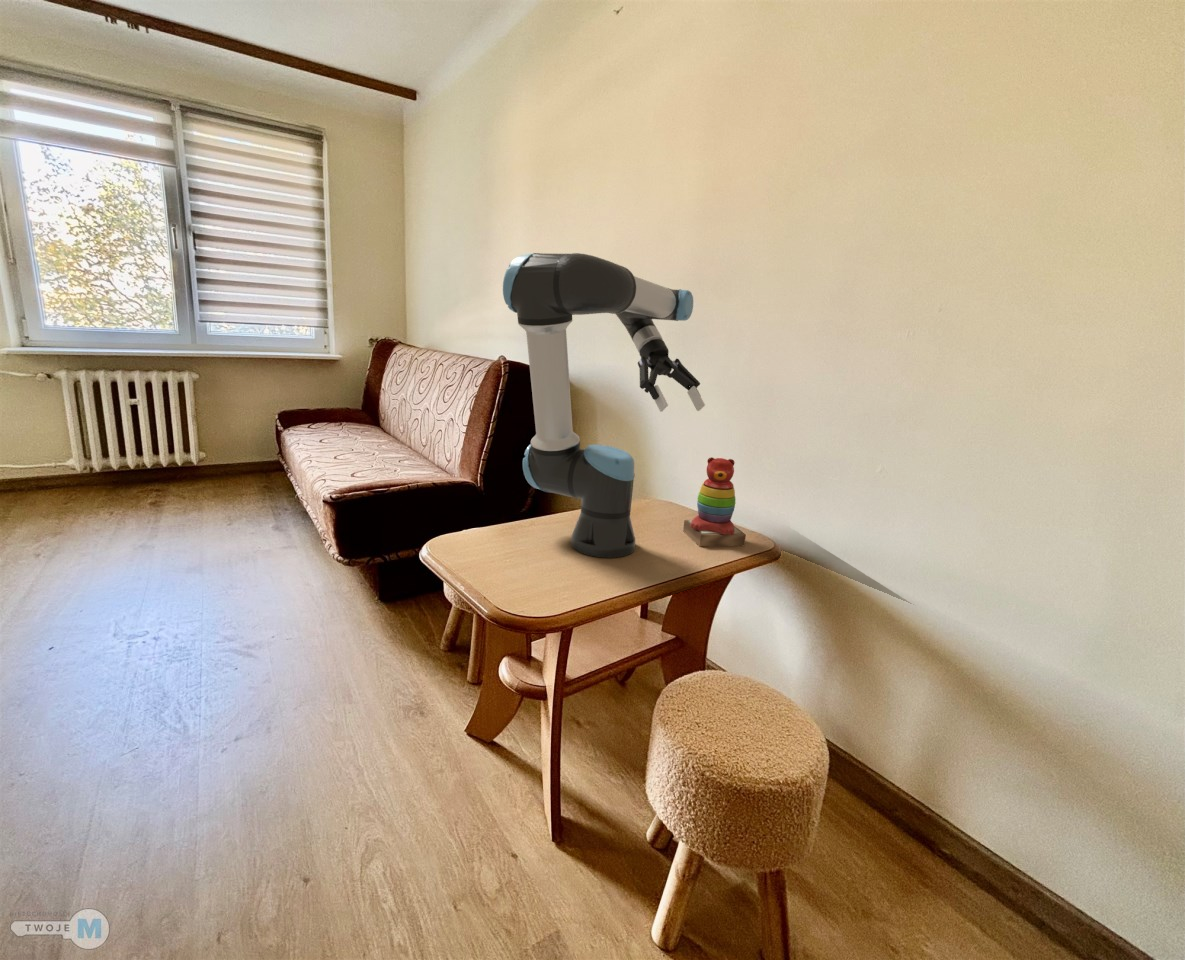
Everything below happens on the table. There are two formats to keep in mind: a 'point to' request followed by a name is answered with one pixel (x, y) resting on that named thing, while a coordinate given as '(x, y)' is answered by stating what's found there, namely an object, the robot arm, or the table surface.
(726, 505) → the stacking bear
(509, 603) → the table surface
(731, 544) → the grey flat block
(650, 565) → the table surface
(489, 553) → the table surface
